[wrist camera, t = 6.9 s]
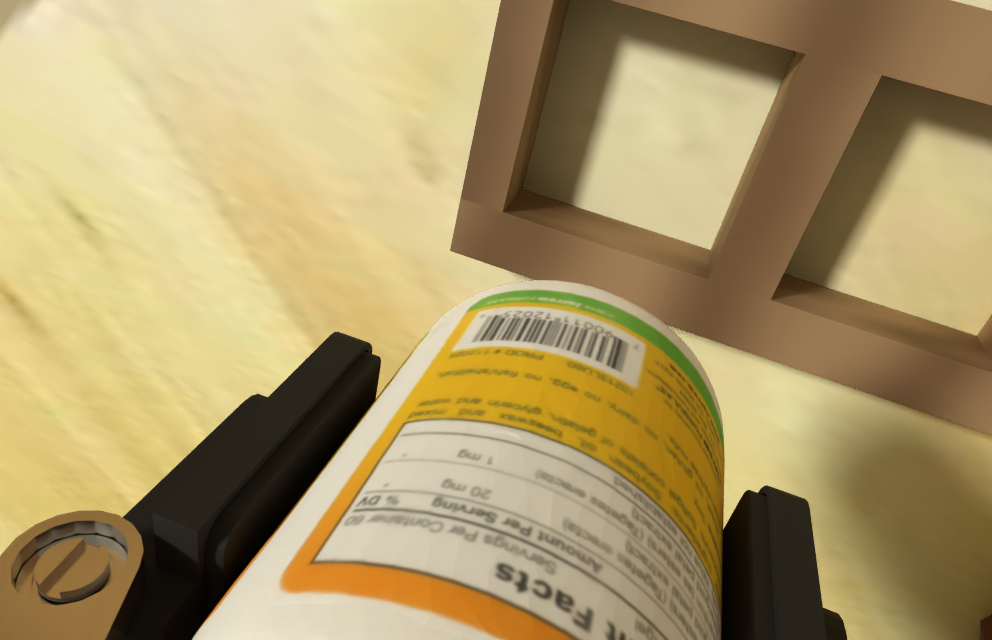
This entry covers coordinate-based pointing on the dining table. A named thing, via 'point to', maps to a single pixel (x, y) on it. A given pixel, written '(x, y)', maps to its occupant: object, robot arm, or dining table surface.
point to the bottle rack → (745, 194)
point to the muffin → (986, 629)
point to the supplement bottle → (510, 489)
